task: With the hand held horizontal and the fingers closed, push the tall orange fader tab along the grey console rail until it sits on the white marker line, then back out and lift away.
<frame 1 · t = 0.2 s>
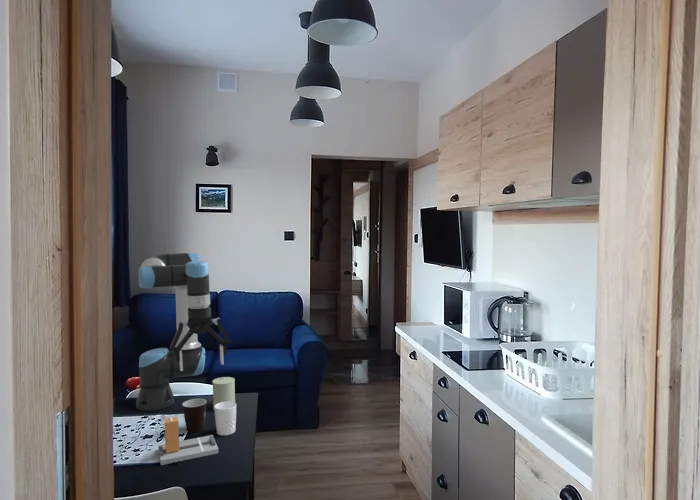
hand: (202, 366, 165), 27 cm above the table, tool pointing down, fingers open, 13 cm apart
white cup: (226, 432, 176), on the table
coffee mug: (197, 427, 180), on the table
can: (224, 407, 200), on the table
console rail: (188, 451, 160), on the table
fader tab: (171, 434, 158), point 7 cm above the table, slide at 0.0 cm
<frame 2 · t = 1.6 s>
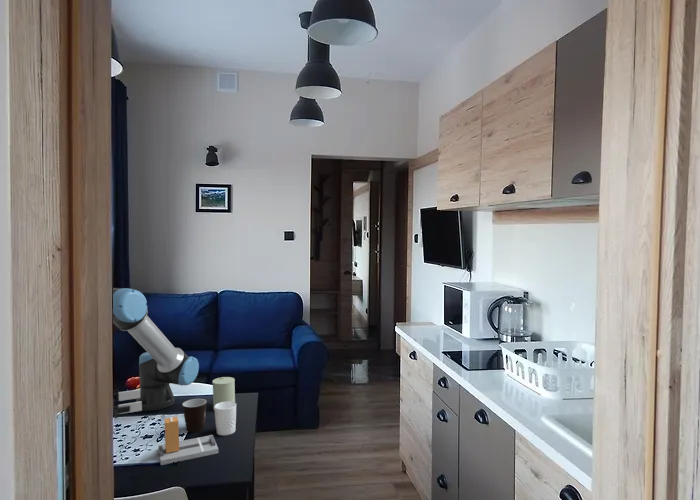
hand: (141, 399, 154), 20 cm above the table, tool horizontal, fingers open, 12 cm apart
nothing on the table moved.
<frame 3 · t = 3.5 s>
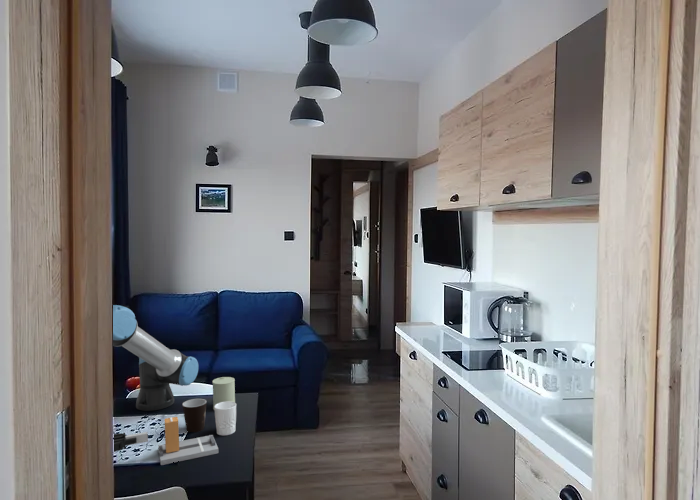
hand: (147, 436, 155), 8 cm above the table, tool horizontal, fingers closed
nothing on the table moved.
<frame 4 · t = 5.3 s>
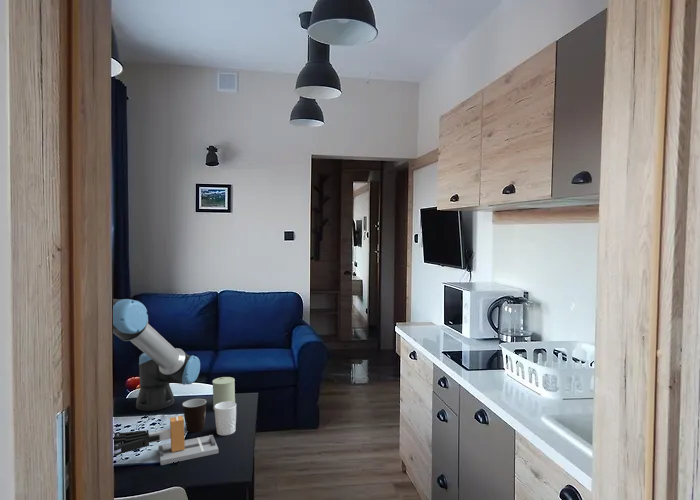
hand: (170, 433, 157), 7 cm above the table, tool horizontal, fingers closed
fader tab: (177, 433, 159), point 7 cm above the table, slide at 1.7 cm, touching gripper
everything else where it was.
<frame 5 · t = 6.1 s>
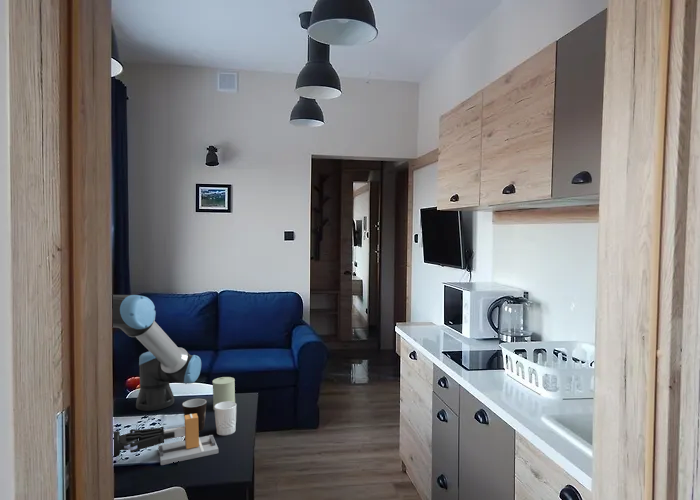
hand: (184, 431, 159), 7 cm above the table, tool horizontal, fingers closed
fader tab: (191, 430, 161), point 7 cm above the table, slide at 6.3 cm, touching gripper
everything else where it was.
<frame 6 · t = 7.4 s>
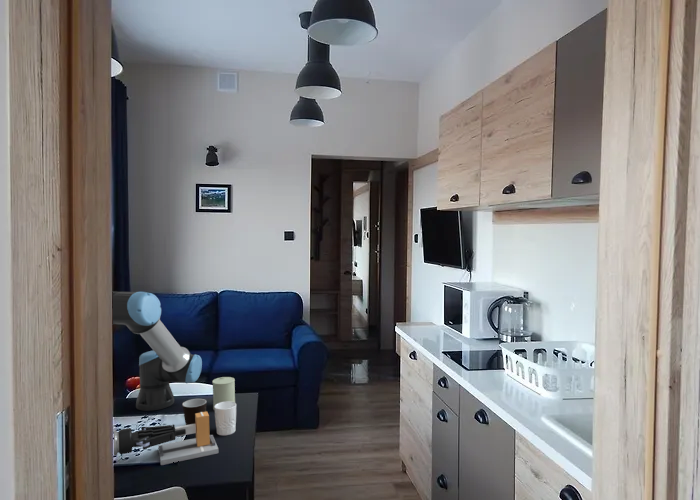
hand: (195, 428, 161), 7 cm above the table, tool horizontal, fingers closed
fader tab: (202, 428, 162), point 7 cm above the table, slide at 9.8 cm, touching gripper
everything else where it was.
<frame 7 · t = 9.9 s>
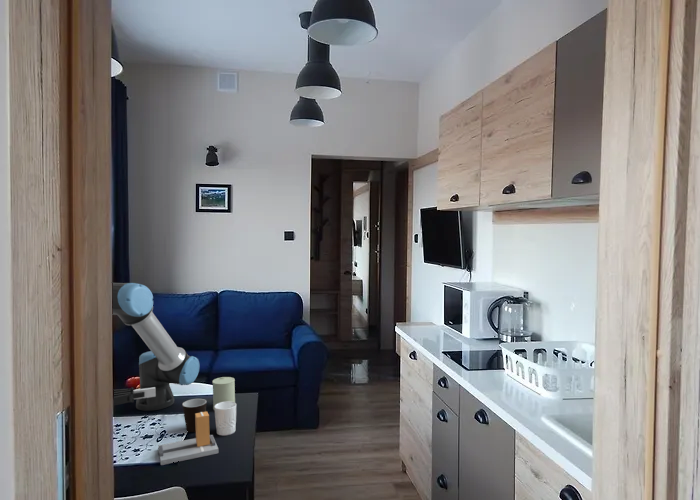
hand: (155, 391, 156), 22 cm above the table, tool horizontal, fingers closed
fader tab: (202, 428, 162), point 7 cm above the table, slide at 9.8 cm
everything else where it was.
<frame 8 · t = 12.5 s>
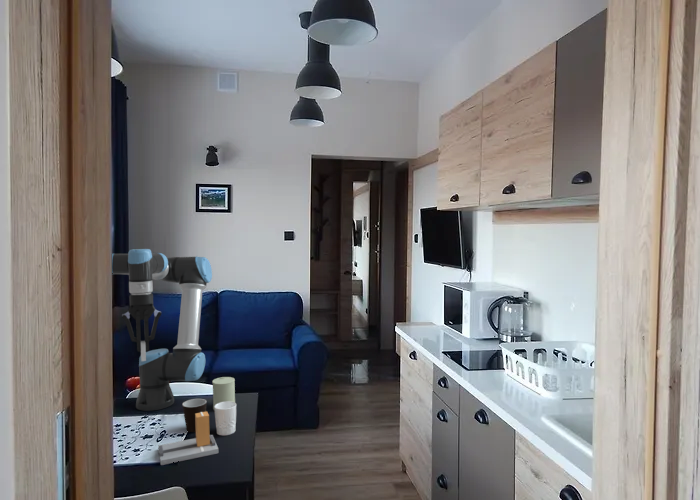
hand: (143, 360, 166), 29 cm above the table, tool pointing down, fingers closed
nothing on the table moved.
at the end: fader tab slide at 9.8 cm; fader tab 0.8 cm from the target spot, point 6.9 cm above the table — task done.
